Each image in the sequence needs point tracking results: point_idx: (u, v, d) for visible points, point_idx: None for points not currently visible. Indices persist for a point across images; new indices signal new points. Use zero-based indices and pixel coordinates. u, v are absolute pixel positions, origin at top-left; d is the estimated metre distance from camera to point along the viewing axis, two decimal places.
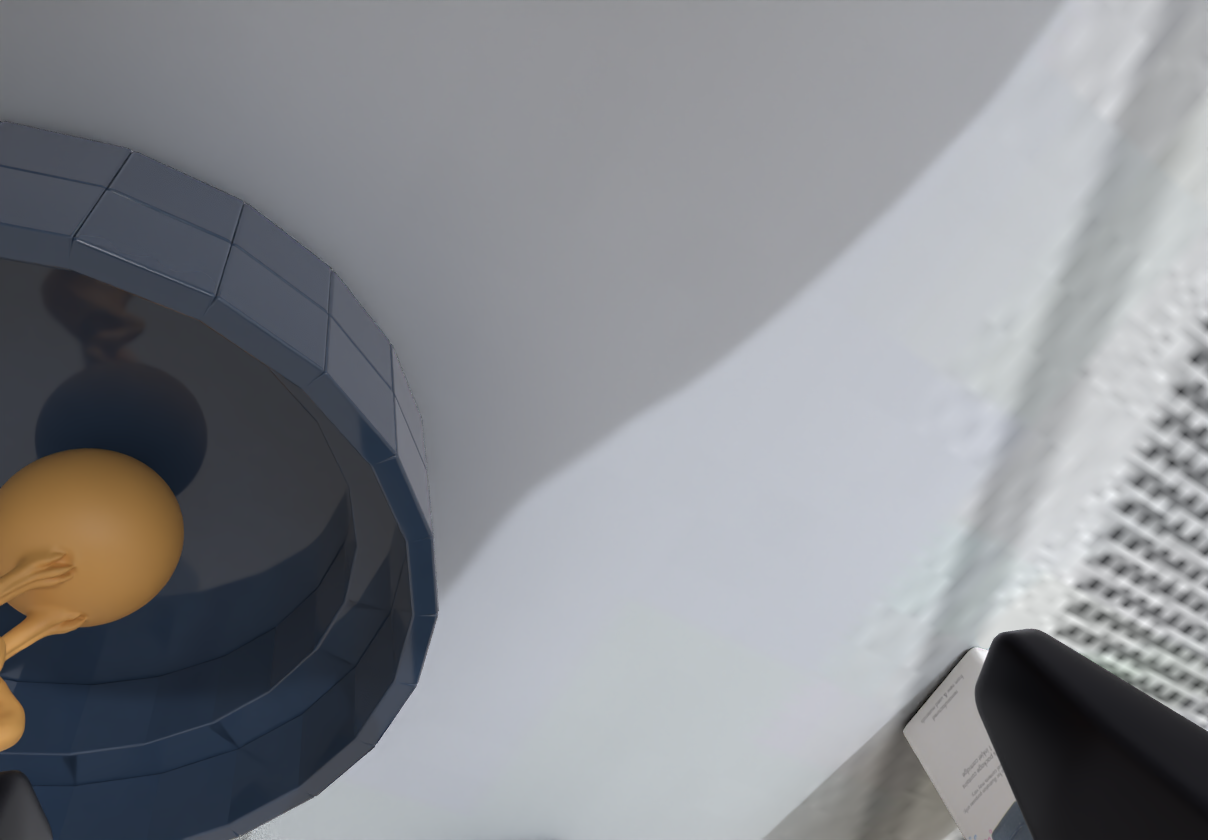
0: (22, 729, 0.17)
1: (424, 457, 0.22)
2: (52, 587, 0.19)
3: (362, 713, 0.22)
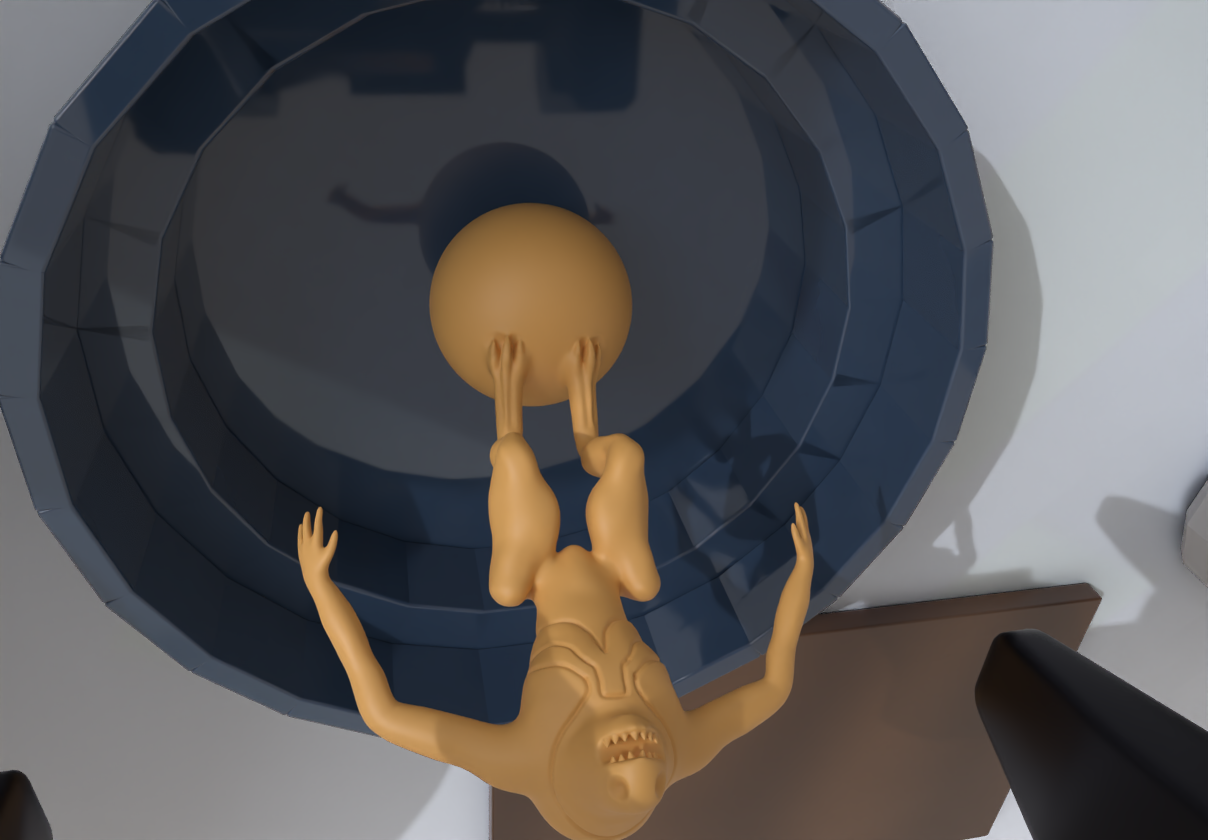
0: (628, 444, 0.15)
1: None
2: (529, 360, 0.17)
3: (845, 32, 0.14)
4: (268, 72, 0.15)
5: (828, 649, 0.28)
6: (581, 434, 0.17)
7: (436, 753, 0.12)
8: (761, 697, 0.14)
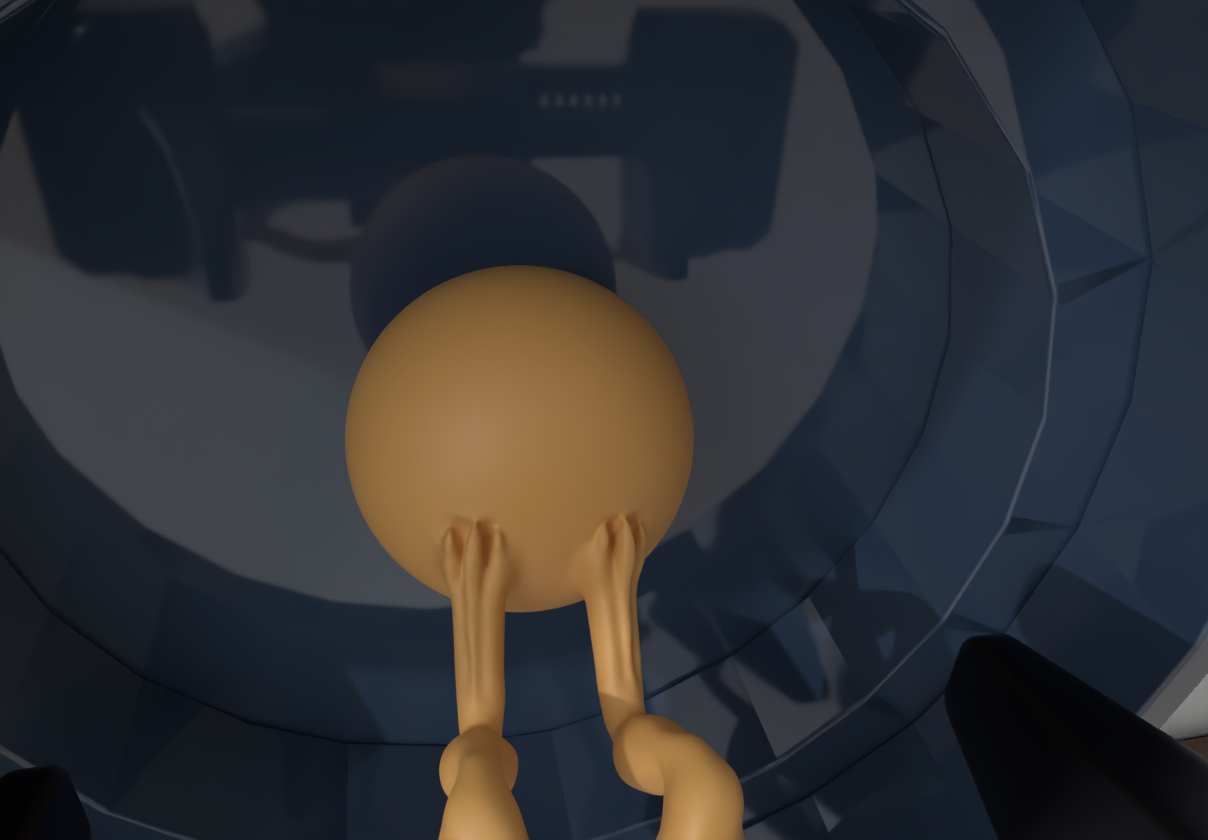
0: (712, 777, 0.07)
1: None
2: (515, 561, 0.09)
3: None
4: None
5: None
6: (612, 699, 0.09)
7: None
8: None
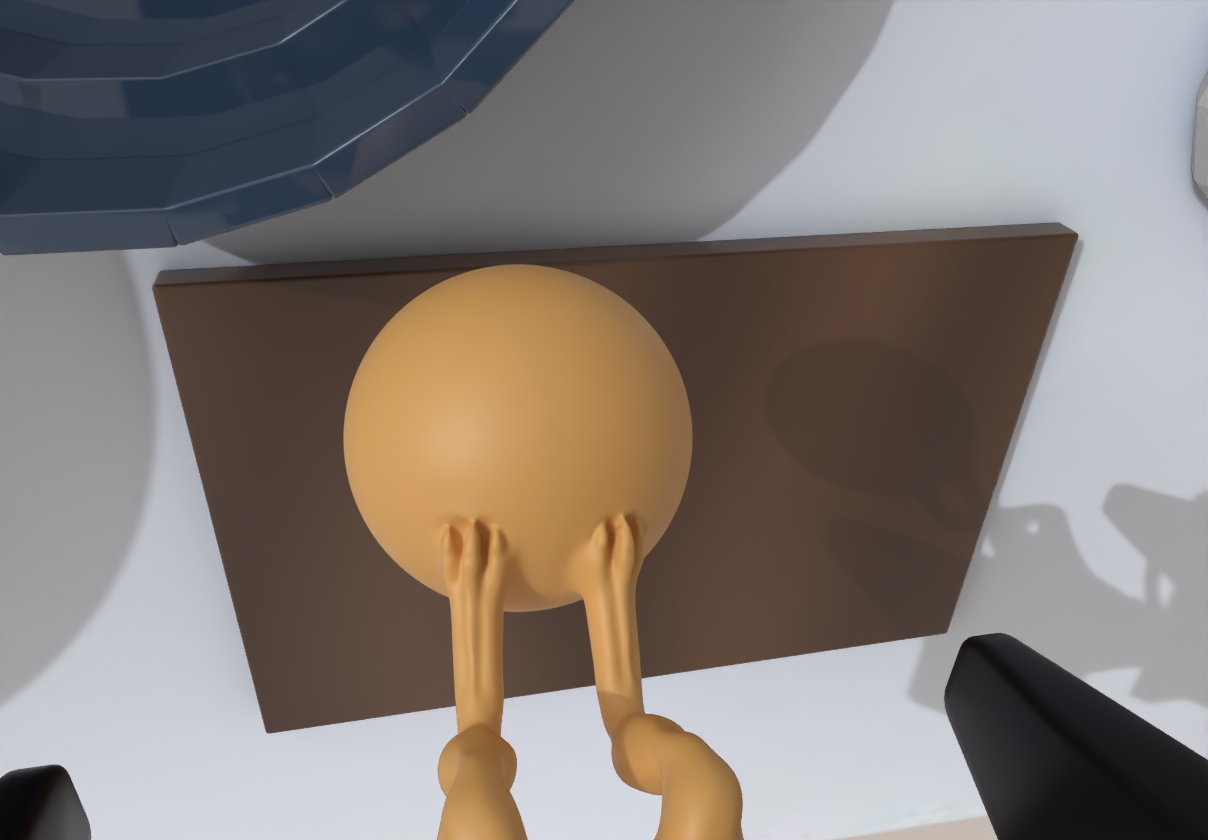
0: (710, 776, 0.07)
1: None
2: (514, 562, 0.09)
3: None
4: None
5: (677, 290, 0.20)
6: (611, 698, 0.09)
7: None
8: None
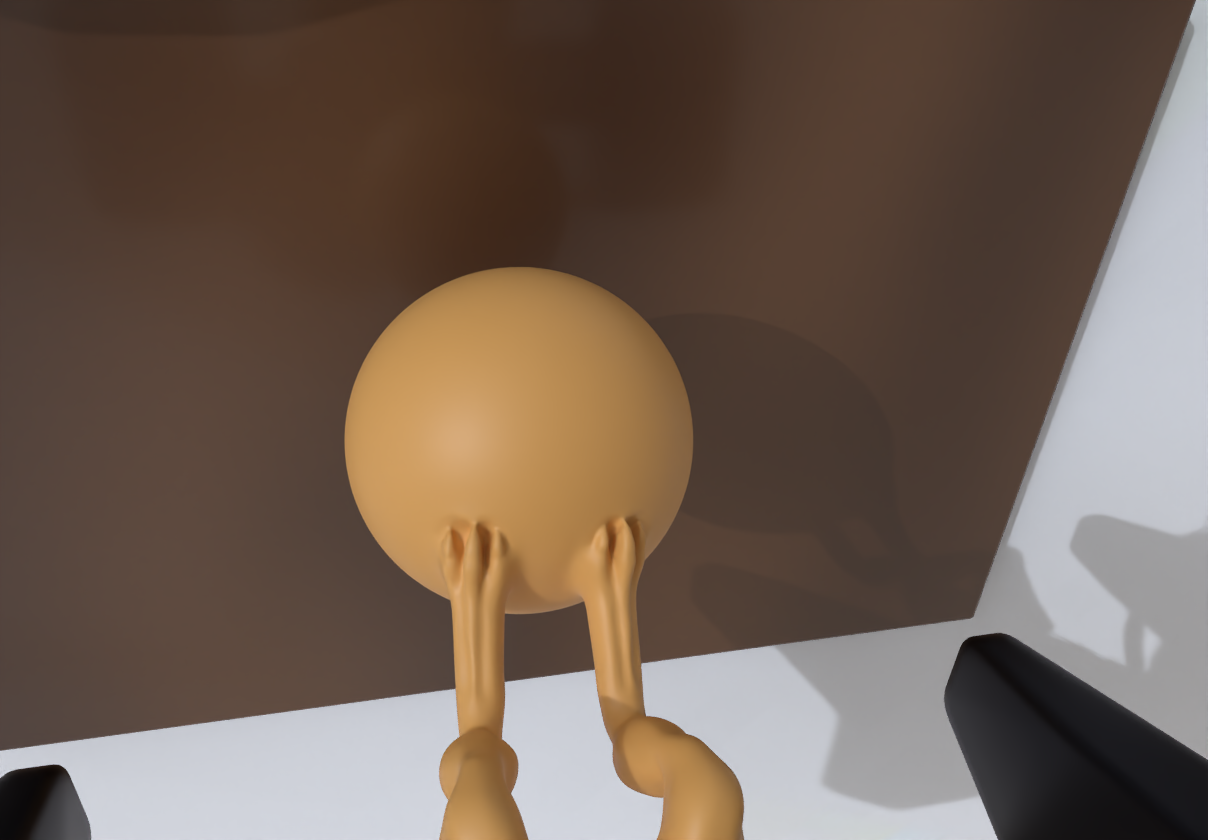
0: (712, 779, 0.07)
1: None
2: (515, 564, 0.09)
3: None
4: None
5: (572, 43, 0.12)
6: (612, 701, 0.09)
7: None
8: None
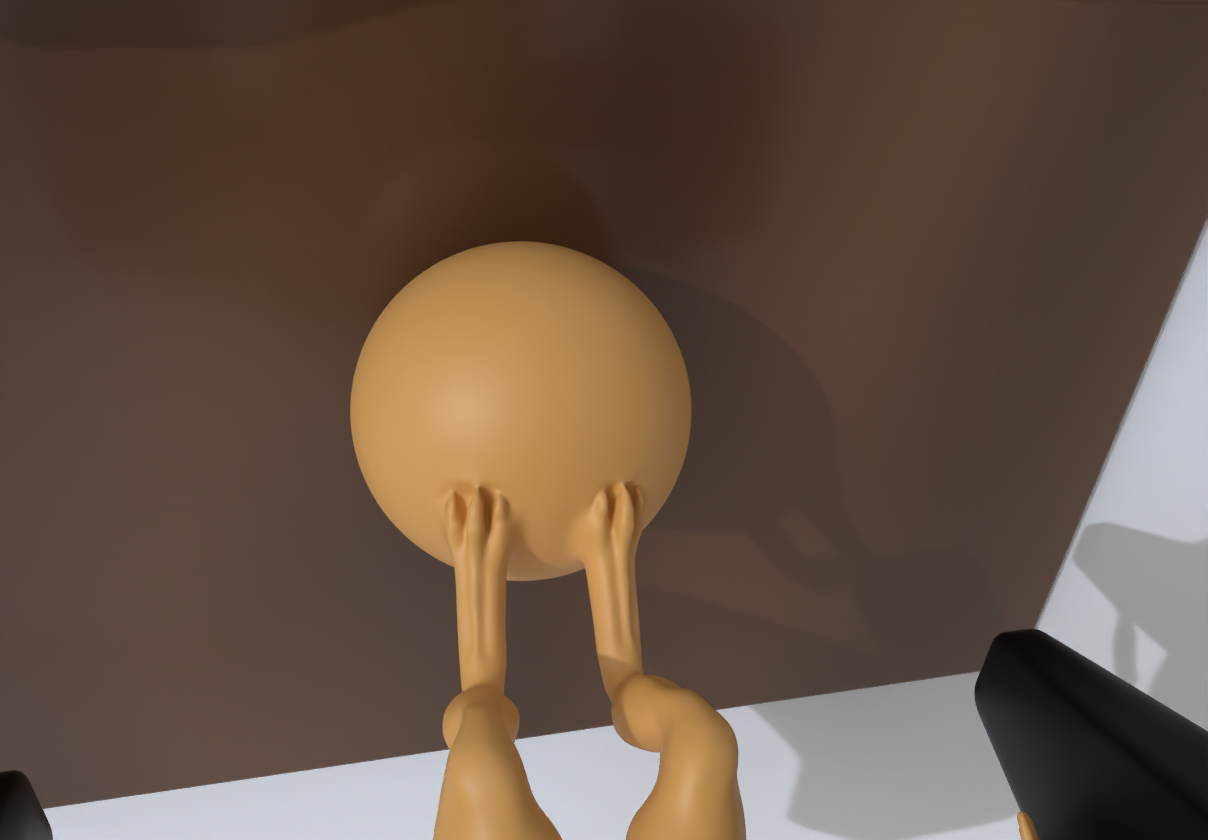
0: (707, 728, 0.08)
1: None
2: (516, 527, 0.09)
3: None
4: None
5: (605, 57, 0.11)
6: (611, 660, 0.09)
7: None
8: None
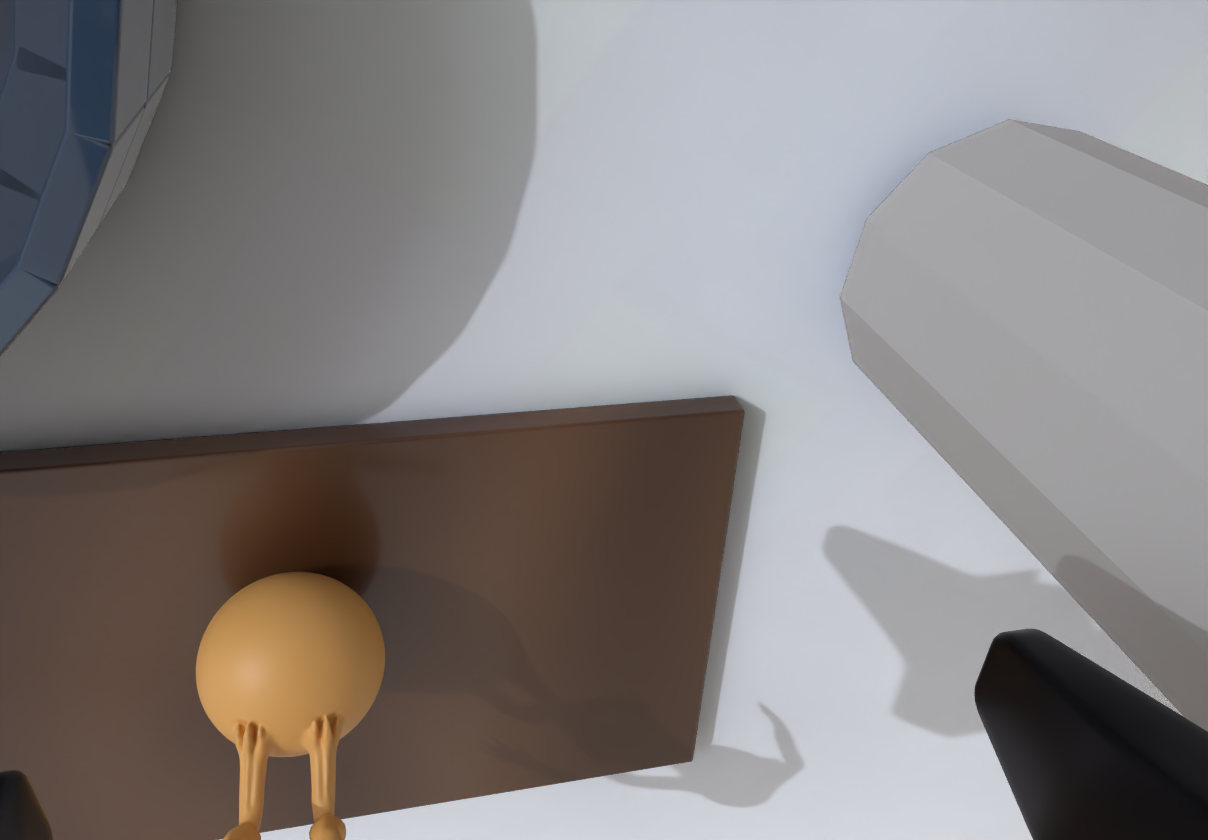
0: None
1: None
2: (270, 741, 0.19)
3: None
4: None
5: (335, 473, 0.21)
6: (316, 806, 0.19)
7: None
8: None
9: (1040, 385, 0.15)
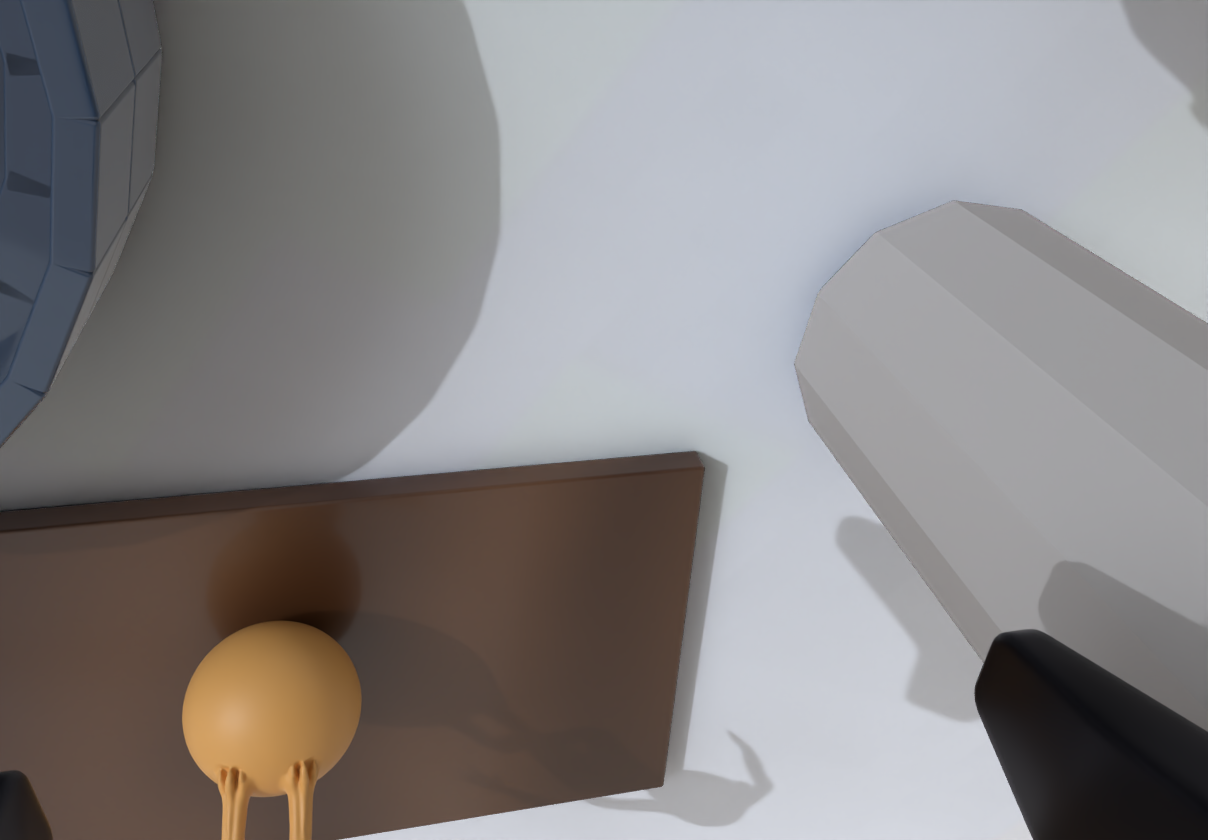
0: None
1: None
2: (251, 784, 0.20)
3: None
4: None
5: (314, 529, 0.22)
6: None
7: None
8: None
9: (960, 476, 0.16)
